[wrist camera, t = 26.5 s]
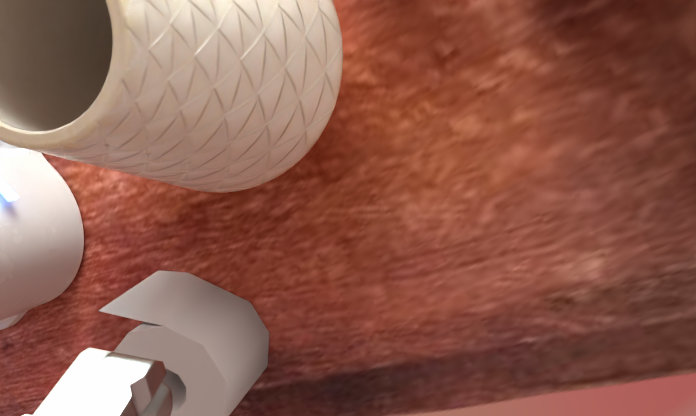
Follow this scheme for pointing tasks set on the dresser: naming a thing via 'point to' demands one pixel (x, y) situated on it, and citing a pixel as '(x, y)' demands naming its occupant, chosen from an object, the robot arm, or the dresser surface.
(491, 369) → the dresser surface
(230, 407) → the toilet tissue
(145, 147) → the vase
